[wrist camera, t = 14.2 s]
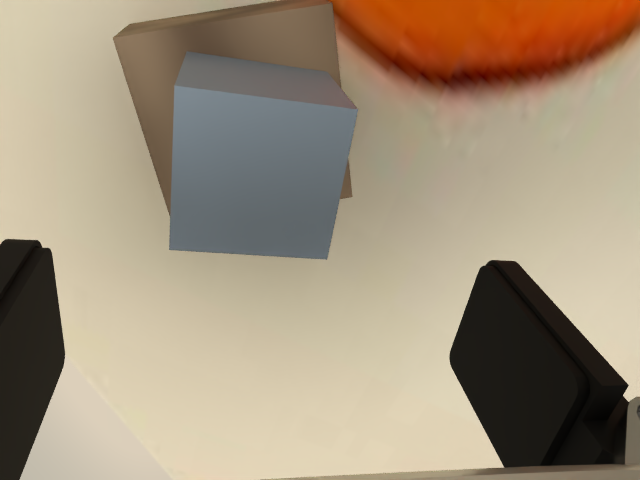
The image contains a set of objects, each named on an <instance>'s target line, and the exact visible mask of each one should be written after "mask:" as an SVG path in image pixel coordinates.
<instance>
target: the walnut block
mask: <svg viewBox="0 0 640 480" xmlns="http://www.w3.org/2000/svg"><path fill="white" fill-rule="evenodd" d="M113 40H114V43H115V46H116V50H117V53H118V56H119V59H120V62H121V65H122V68H123V71H124V75H125V78H126V81H127V84H128V87H129V90H130V93H131V96H132V99H133V103H134V106H135V109H136V112H137V115H138V118H139V121H140V124H141V128H142V131H143V134H144V137H145V140H146V143H147V146H148V149H149V152H150V156H151V159H152V162H153V165H154V168H155V171H156V174H157V177H158V181H159V184H160V187H161V190H162V193H163V196H164V199H165V202H166V206H167V209H168V212H169V215H170V213H171V180H172V148H173V116H174V85H175V83H176V80H177V77H178V74H179V72H180V69H181V66H182V63H183V61H184V58H185V55H186V52H187V51H188V52H195V53H202V54H209V55H215V56H222V57H229V58H236V59H243V60H250V61H257V62H263V63H270V64H277V65H284V66H291V67H298V68H304V69H311V70H318V71H325V72H328V73H329V74H330V76H331V77H332V78H333V79H334V81H335V82H336V83H337V84H338V86H339V87H340V88H341V82H340V72H339V63H338V53H337V43H336V34H335V24H334V14H333V5H332V3H331V2H329V1H328V0H280V1H273V2H267V3H261V4H254V5H248V6H242V7H235V8H229V9H223V10H216V11H210V12H203V13H197V14H191V15H184V16H178V17H172V18H165V19H159V20H153V21H146V22H140V23H133V24H129V25H128V26H127V27H125V28H124V29H123V30H122V31H121V32H119V33H118V34H117V35H116V36H114V37H113ZM349 197H352V189H351V179H350V169H349V160H348V161H347V166H346V170H345V175H344V180H343V185H342V190H341V195H340V199H343V198H349Z"/></svg>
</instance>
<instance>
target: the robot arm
mask: <svg viewBox="0 0 640 480" xmlns="http://www.w3.org/2000/svg"><path fill="white" fill-rule="evenodd" d="M64 359H65V349H64V341H63V333H62V326H61V318H60V311H59V303H58V295H57V288H56V280H55V273H54V265H53V258H52V252H51V250H50V249H49V248H42V246H41V243H40V242H39V241H38V240H17V239H5V240H4V241H3V242H2V243H1V245H0V480H19V479H20V477H21V474H22V472H23V469H24V467H25V464H26V461H27V459H28V456H29V454H30V451H31V449H32V446H33V444H34V441H35V438H36V436H37V433H38V431H39V428H40V425H41V423H42V420H43V418H44V415H45V412H46V410H47V408H48V405H49V402H50V400H51V397H52V395H53V392H54V390H55V387H56V384H57V382H58V379H59V377H60V374H61V372H62V369H63V365H64ZM450 364H451V367H452V369H453V371H454V373H455V375H456V377H457V379H458V381H459V382H460V384H461V386H462V388H463V390H464V392H465V394H466V396H467V398H468V399H469V401H470V403H471V405H472V407H473V409H474V411H475V413H476V415H477V416H478V418H479V420H480V422H481V424H482V426H483V428H484V430H485V432H486V433H487V435H488V437H489V439H490V441H491V443H492V445H493V447H494V449H495V451H496V452H497V454H498V456H499V458H500V460H501V462H502V464H503V466H504V468H486V469H463V470H441V471H419V472H399V473H379V474H359V475H339V476H320V477H300V478H281V479H262V480H640V397H635V398H634V399H632V400H631V401H630V402H628V401H627V400H626V399H625V398H624V397H623V394H624V392H625V391H626V389H627V387H628V386H629V385H628V384H627V383H626V382H625V381H624V380H623V378H622V377H621V376H620V375H619V374H618V373H617V372H616V371H615V370H614V369H613V367H612V366H611V365H610V364H609V363H608V362H607V361H606V360H605V359H604V358H603V356H602V355H601V354H600V353H599V352H598V351H597V350H596V349H595V348H594V347H593V345H592V344H591V343H590V342H589V341H588V340H587V339H586V338H585V337H584V336H583V334H582V333H581V332H580V331H579V330H578V329H577V328H576V327H575V326H574V325H573V323H572V322H571V321H570V320H569V319H568V318H567V317H566V316H565V315H564V314H563V312H562V311H561V310H560V309H559V308H558V307H557V306H556V305H555V304H554V303H553V301H552V300H551V299H550V298H549V297H548V296H547V295H546V294H545V293H544V292H543V290H542V289H541V288H540V287H539V286H538V285H537V284H536V283H535V282H534V281H533V279H532V278H531V277H530V276H529V275H528V274H527V273H526V272H525V271H524V270H523V268H522V267H521V266H520V265H519V264H518V263H517V262H515V261H500V260H491V261H489V262H488V263H487V264H486V266H482V267H481V268H480V270H479V272H478V275H477V277H476V280H475V283H474V286H473V289H472V291H471V294H470V297H469V300H468V303H467V306H466V308H465V311H464V314H463V317H462V320H461V323H460V325H459V328H458V331H457V334H456V337H455V339H454V342H453V345H452V348H451V351H450Z"/></svg>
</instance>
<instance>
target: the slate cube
mask: <svg viewBox="0 0 640 480" xmlns="http://www.w3.org/2000/svg"><path fill="white" fill-rule="evenodd" d="M357 112H358V109H357V108H356V106H355V105H354V104H353V103H352V101H351V100H350V99H349V98H348V97H347V95H346V94H345V93H344V92H343V90H342V89H341V88H340V87H339V86H338V84H337V83H336V82H335V81H334V79H333V78H332V77H331V76H330V74H329V73H328V72H325V71H318V70H311V69H304V68H298V67H291V66H284V65H277V64H270V63H263V62H257V61H250V60H243V59H236V58H229V57H222V56H215V55H209V54H202V53H195V52H188V51H187V52H186V55H185V58H184V61H183V63H182V66H181V69H180V72H179V74H178V77H177V80H176V83H175V85H174V116H173V148H172V180H171V213H170V245H169V250H179V251H196V252H212V253H229V254H245V255H262V256H278V257H295V258H311V259H327V258H328V253H329V248H330V243H331V238H332V233H333V228H334V224H335V219H336V214H337V209H338V204H339V199H340V195H341V190H342V185H343V180H344V175H345V170H346V166H347V161H348V156H349V151H350V146H351V141H352V137H353V132H354V127H355V122H356V117H357Z"/></svg>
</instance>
